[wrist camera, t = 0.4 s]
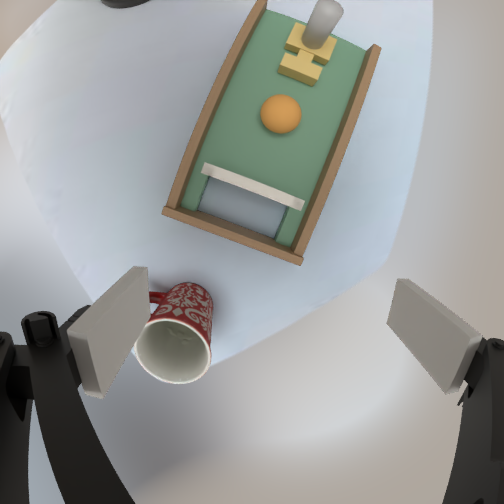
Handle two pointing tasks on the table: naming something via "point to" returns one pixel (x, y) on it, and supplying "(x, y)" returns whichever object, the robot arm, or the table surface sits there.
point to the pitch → (272, 134)
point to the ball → (280, 113)
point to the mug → (177, 335)
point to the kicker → (311, 43)
